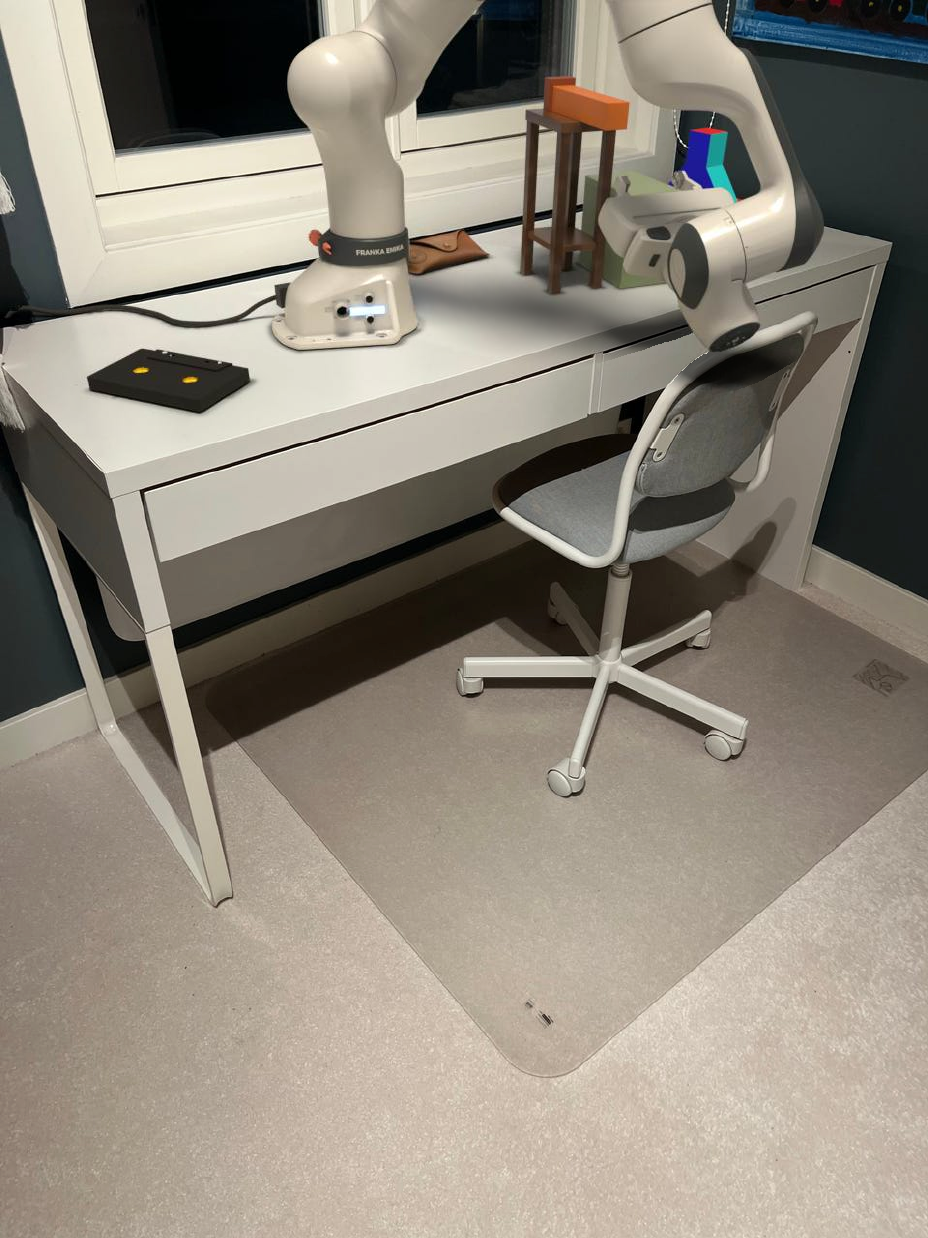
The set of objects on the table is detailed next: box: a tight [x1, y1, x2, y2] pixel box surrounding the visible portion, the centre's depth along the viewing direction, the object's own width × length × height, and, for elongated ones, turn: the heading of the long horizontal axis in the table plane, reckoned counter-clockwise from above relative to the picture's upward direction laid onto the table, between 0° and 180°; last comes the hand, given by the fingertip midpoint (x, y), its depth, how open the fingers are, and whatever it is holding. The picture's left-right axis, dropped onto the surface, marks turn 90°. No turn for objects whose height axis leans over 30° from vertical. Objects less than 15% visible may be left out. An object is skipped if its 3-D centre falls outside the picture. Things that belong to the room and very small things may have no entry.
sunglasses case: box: [408, 228, 491, 275], centre depth 174 cm, size 18×7×7 cm, turn 132°
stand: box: [519, 108, 617, 295], centre depth 159 cm, size 10×13×26 cm
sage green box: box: [578, 170, 682, 290], centre depth 166 cm, size 10×16×15 cm, turn 22°
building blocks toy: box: [667, 127, 743, 203], centre depth 188 cm, size 19×25×18 cm
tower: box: [542, 75, 631, 131], centre depth 146 cm, size 5×20×5 cm, turn 22°
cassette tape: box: [86, 348, 251, 413], centre depth 128 cm, size 18×12×2 cm, turn 67°
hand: (648, 176), depth 135 cm, fingers open, 8 cm apart
